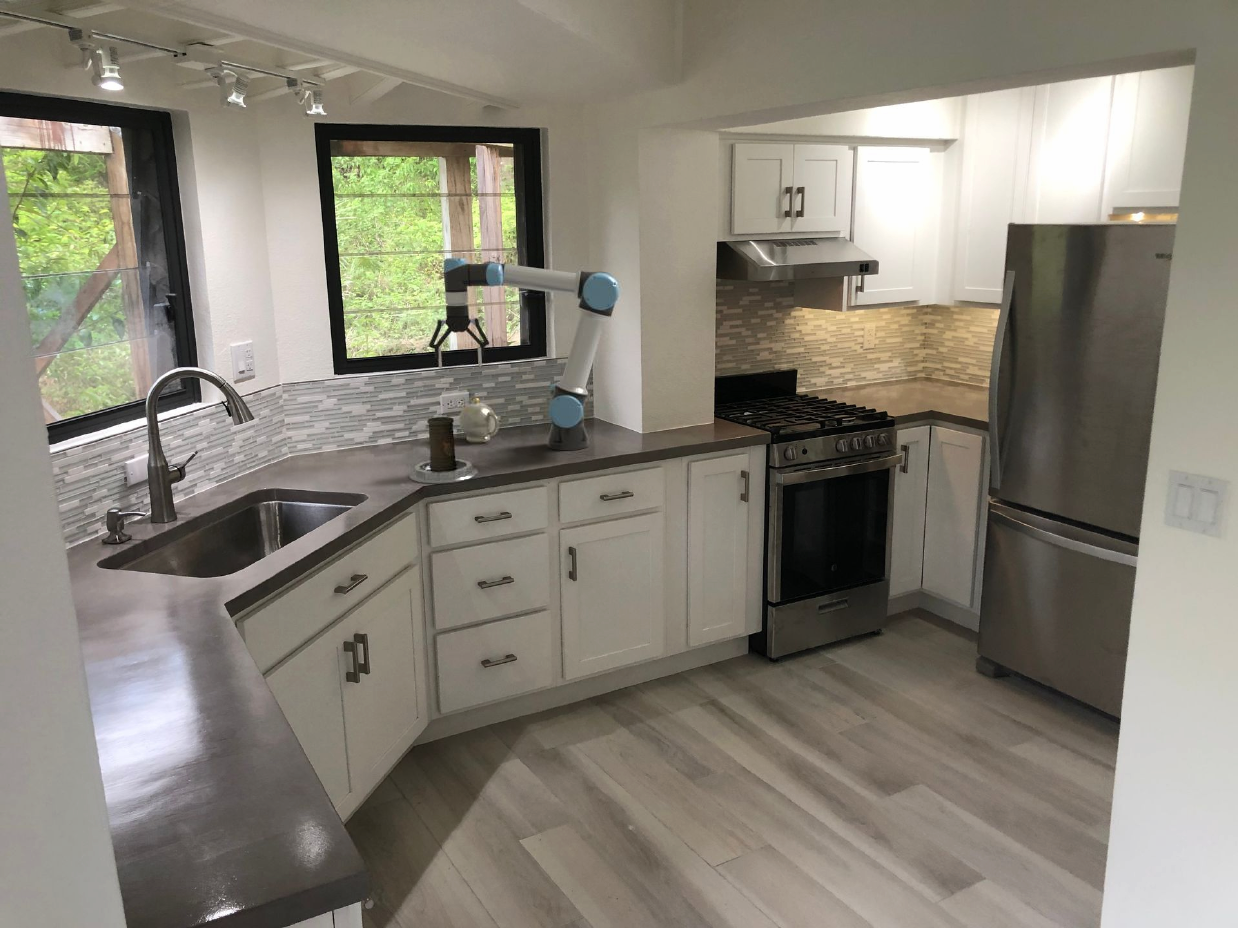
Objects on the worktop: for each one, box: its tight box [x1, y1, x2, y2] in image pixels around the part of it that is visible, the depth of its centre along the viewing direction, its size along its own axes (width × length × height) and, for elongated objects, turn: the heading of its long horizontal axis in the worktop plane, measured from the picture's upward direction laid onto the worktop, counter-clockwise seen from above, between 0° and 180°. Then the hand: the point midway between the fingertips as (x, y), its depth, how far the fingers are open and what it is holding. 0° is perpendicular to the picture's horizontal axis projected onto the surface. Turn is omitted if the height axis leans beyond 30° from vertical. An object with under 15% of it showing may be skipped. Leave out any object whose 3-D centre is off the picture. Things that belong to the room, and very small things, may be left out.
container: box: [427, 416, 458, 472], centre depth 314 cm, size 9×9×18 cm
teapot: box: [458, 397, 500, 444], centre depth 362 cm, size 18×14×16 cm
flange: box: [409, 458, 479, 485], centre depth 316 cm, size 22×22×3 cm
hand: (460, 367), depth 333 cm, fingers open, 13 cm apart
